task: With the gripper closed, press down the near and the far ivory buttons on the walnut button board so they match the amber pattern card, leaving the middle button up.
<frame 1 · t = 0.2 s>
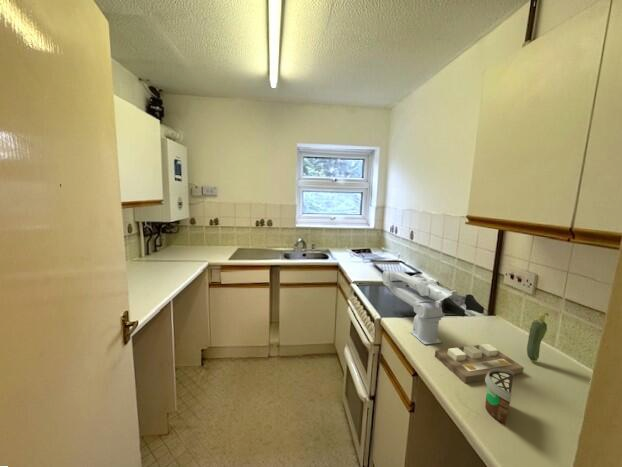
hand: (473, 312, 89), 21 cm above the countertop, tool horizontal, fingers open, 7 cm apart
near button: (456, 354, 96), point 3 cm above the countertop, slide at 0.0 cm
vegetable: (531, 361, 100), on the countertop
food container: (493, 409, 77), on the countertop
middle button: (472, 352, 98), point 3 cm above the countertop, slide at 0.0 cm
far button: (488, 350, 100), point 3 cm above the countertop, slide at 0.0 cm
button board: (476, 364, 96), on the countertop
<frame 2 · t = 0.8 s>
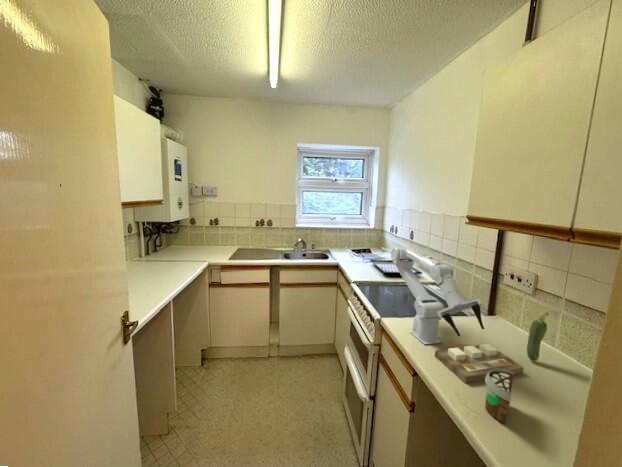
hand: (470, 332, 90), 14 cm above the countertop, tool tilted 50°, fingers open, 7 cm apart
nothing on the countertop moved.
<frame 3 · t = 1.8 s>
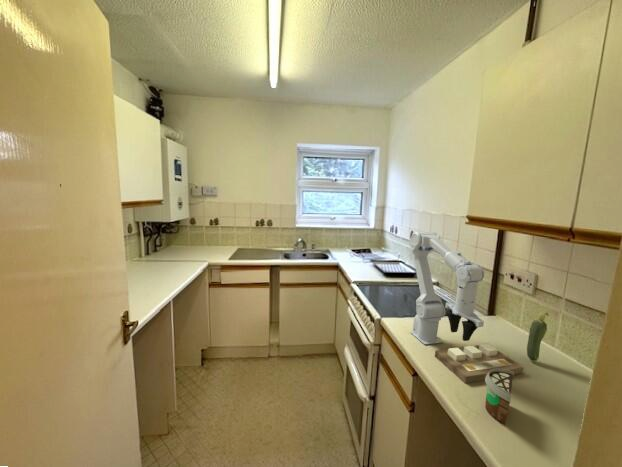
hand: (459, 335, 95), 10 cm above the countertop, tool pointing down, fingers open, 5 cm apart
nothing on the countertop moved.
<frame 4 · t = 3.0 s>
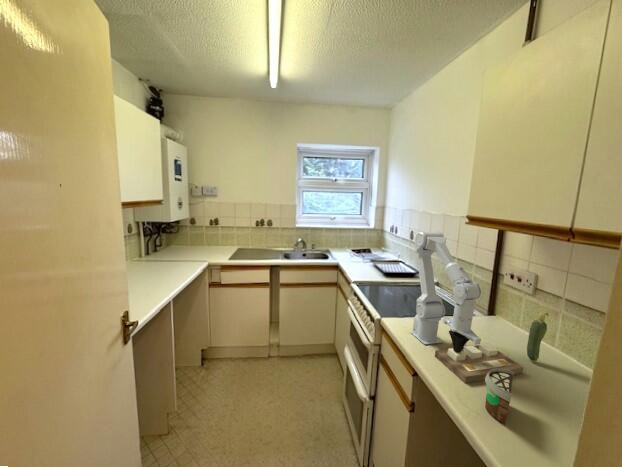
hand: (457, 351, 96), 4 cm above the countertop, tool pointing down, fingers closed, pressing on near button
near button: (456, 354, 96), point 3 cm above the countertop, slide at 0.0 cm, touching gripper
everything else where it was.
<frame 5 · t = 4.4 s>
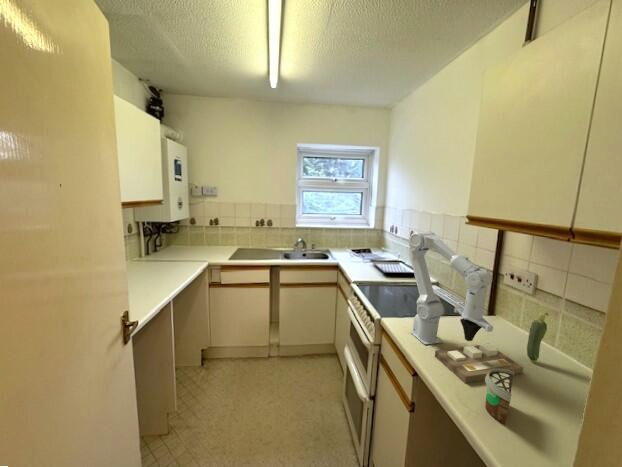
hand: (468, 339, 96), 8 cm above the countertop, tool pointing down, fingers closed
near button: (456, 357, 96), point 2 cm above the countertop, slide at 1.1 cm
everything else where it was.
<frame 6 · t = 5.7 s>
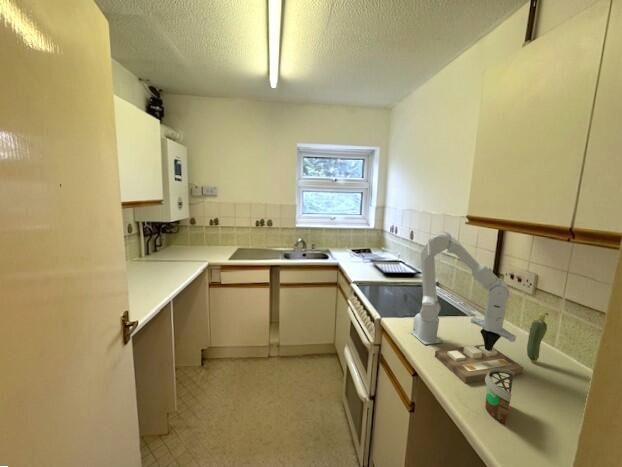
hand: (488, 349, 100), 4 cm above the countertop, tool pointing down, fingers closed, pressing on far button
far button: (487, 352, 100), point 2 cm above the countertop, slide at 0.8 cm, touching gripper
everything else where it was.
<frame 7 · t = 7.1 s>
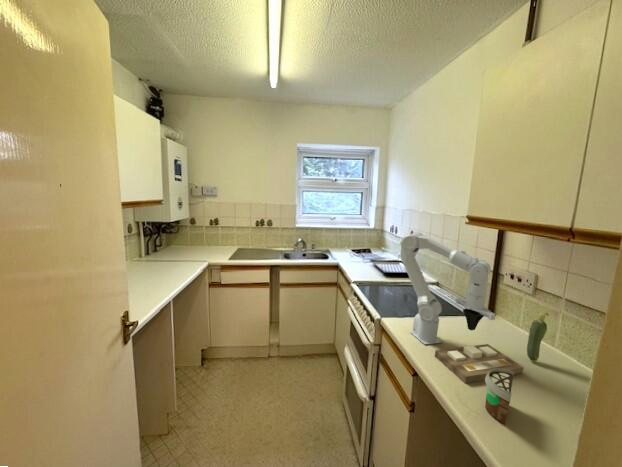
hand: (471, 329, 100), 10 cm above the countertop, tool pointing down, fingers closed
far button: (487, 353, 100), point 2 cm above the countertop, slide at 1.1 cm
everything else where it was.
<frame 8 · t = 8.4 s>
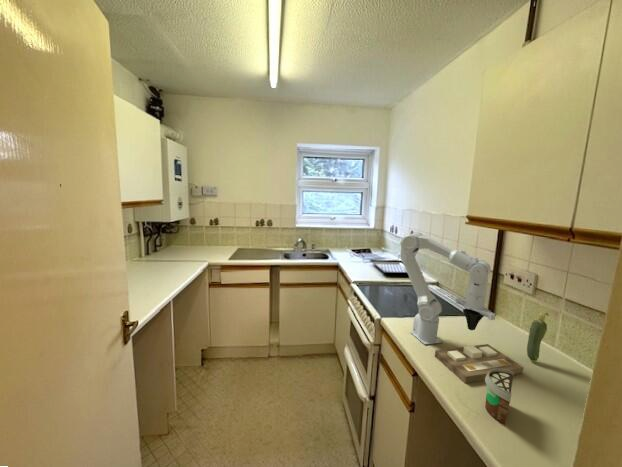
hand: (471, 329, 100), 10 cm above the countertop, tool pointing down, fingers closed
nothing on the countertop moved.
at the end: near button slide at 1.1 cm; far button slide at 1.1 cm; middle button slide at 0.0 cm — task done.
